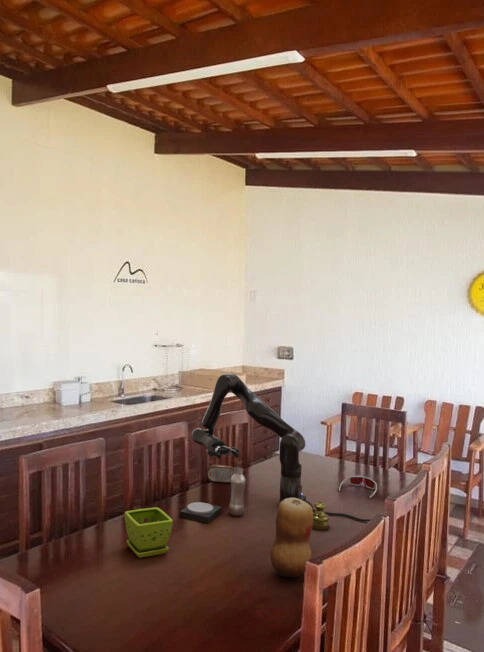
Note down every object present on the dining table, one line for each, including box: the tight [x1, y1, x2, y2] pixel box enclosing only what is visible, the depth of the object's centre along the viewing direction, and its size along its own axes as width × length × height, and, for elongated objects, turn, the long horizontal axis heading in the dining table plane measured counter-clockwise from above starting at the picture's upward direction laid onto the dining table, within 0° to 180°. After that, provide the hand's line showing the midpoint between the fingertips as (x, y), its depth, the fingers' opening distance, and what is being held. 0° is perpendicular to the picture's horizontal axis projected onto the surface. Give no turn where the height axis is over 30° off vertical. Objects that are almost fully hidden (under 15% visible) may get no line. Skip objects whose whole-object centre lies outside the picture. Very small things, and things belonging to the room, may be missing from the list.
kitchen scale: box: [179, 500, 223, 524], centre depth 228 cm, size 13×14×3 cm
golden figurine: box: [312, 501, 330, 531], centre depth 220 cm, size 7×7×10 cm
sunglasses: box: [338, 475, 378, 499], centre depth 268 cm, size 17×17×5 cm
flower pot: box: [124, 506, 174, 559], centre depth 192 cm, size 14×14×13 cm
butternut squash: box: [269, 498, 314, 578], centre depth 178 cm, size 14×13×25 cm
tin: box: [206, 464, 235, 484], centre depth 272 cm, size 15×3×8 cm, turn 84°
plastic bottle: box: [228, 466, 247, 517], centre depth 229 cm, size 6×7×20 cm
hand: (228, 456), depth 239 cm, fingers open, 8 cm apart
